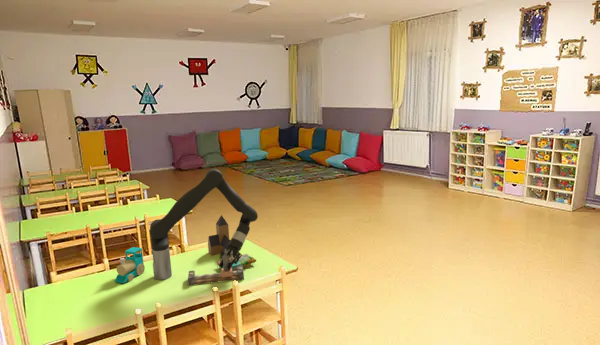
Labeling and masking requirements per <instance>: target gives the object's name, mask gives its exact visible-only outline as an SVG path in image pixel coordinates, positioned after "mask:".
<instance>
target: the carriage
mask: <svg viewBox="0 0 600 345" xmlns="http://www.w3.org/2000/svg"><path fill="white" fill-rule="evenodd" d="M229 262H230V260H229V255H223V268H222V269H221V268H220V269H221V271H220V273H222V277H231V276H233V272H232V268H231V269H230V270H228V269H227V266H228V264H229Z"/></svg>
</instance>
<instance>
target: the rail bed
mask: <svg viewBox="0 0 600 345" xmlns="http://www.w3.org/2000/svg"><path fill="white" fill-rule="evenodd" d="M237 269H238V270H236V271H232V272H233V276H231V277H222V272H215V273H206V274H205V273H204V274H196V273H195V270H189V271H188V275H187V282H188V283H187V284H188V286H195V285H203V283H204V284H211V282H213V283H219V282H218V281H222V282H230V281H237V280H236V279H239V280H238V281H241V280H242V279H243V280H245V276H244V275H245V274H244V273H245V272H244V268H243V265H240V266H237ZM243 280H242V281H243Z"/></svg>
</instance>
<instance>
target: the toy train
mask: <svg viewBox="0 0 600 345" xmlns="http://www.w3.org/2000/svg"><path fill="white" fill-rule="evenodd" d="M124 252H125V257H120V258H119V261H120V264H119V265H118V264H117V267H116V273H117V275H116V277H115V279H114V283H120V284H121V283H122V284H125V283H127V282H128V281H129V282H132V281H133V279H134V278H135V277H136V276H141V275H144V272H145V270H146V269H145V265H144V256H143V248H142V247H135V246H133V247H130V248H128V249H126V250H125V251H124ZM137 252H138V253H137ZM139 252H140V253H139ZM128 255H132V256H128Z"/></svg>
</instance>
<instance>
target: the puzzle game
mask: <svg viewBox="0 0 600 345" xmlns="http://www.w3.org/2000/svg"><path fill="white" fill-rule="evenodd" d="M230 259H231V258H229V260H230ZM236 260H237V259H236ZM220 262H221V260H219V261H217V262H216V264H217V265H218V267H219V268H220V269H222V268H223V267H220V266H219V264H220ZM256 262H257V259H256V258H254V257H253V256H252V255H249V254H248V253H244V254H242V256H241V258H240V259H239V261H238V262H237V263H234V264H233V265H232V267H231V268H232V271H238V269H237V266H240V265H243V269H244V268H248V267H250V266H252V264H254V263H256Z"/></svg>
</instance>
